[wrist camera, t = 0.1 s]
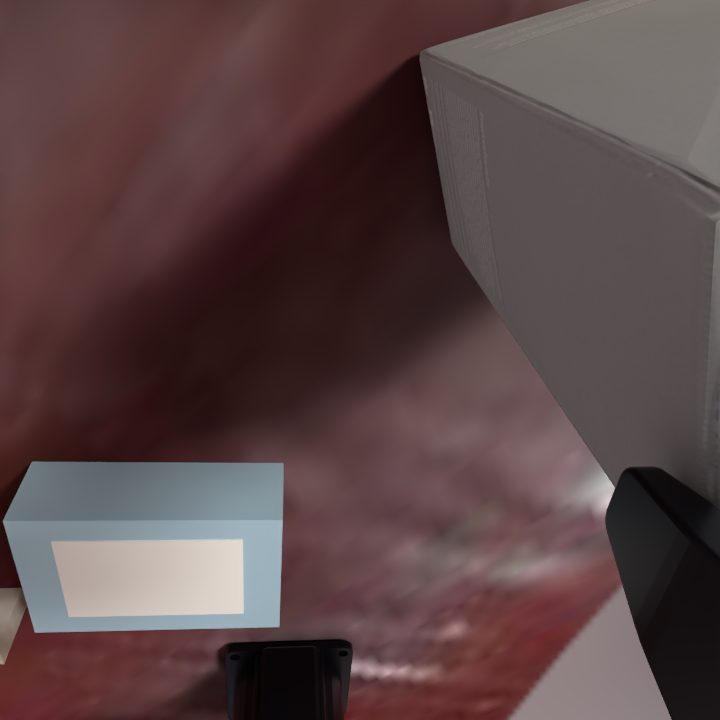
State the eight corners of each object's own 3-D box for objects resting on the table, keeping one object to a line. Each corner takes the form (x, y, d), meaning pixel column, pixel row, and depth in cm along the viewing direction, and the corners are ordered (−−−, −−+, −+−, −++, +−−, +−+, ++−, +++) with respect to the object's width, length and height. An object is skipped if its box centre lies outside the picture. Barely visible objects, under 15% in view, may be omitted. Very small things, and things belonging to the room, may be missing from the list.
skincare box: (447, 241, 23) (665, 672, 10) (409, 15, 19) (689, 215, 6) (692, 179, 22) (1275, 541, 9) (704, -65, 18) (1757, -53, 5)
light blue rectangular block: (280, 561, 31) (279, 628, 28) (60, 564, 30) (34, 634, 27) (283, 458, 28) (282, 521, 25) (34, 456, 27) (2, 522, 24)
